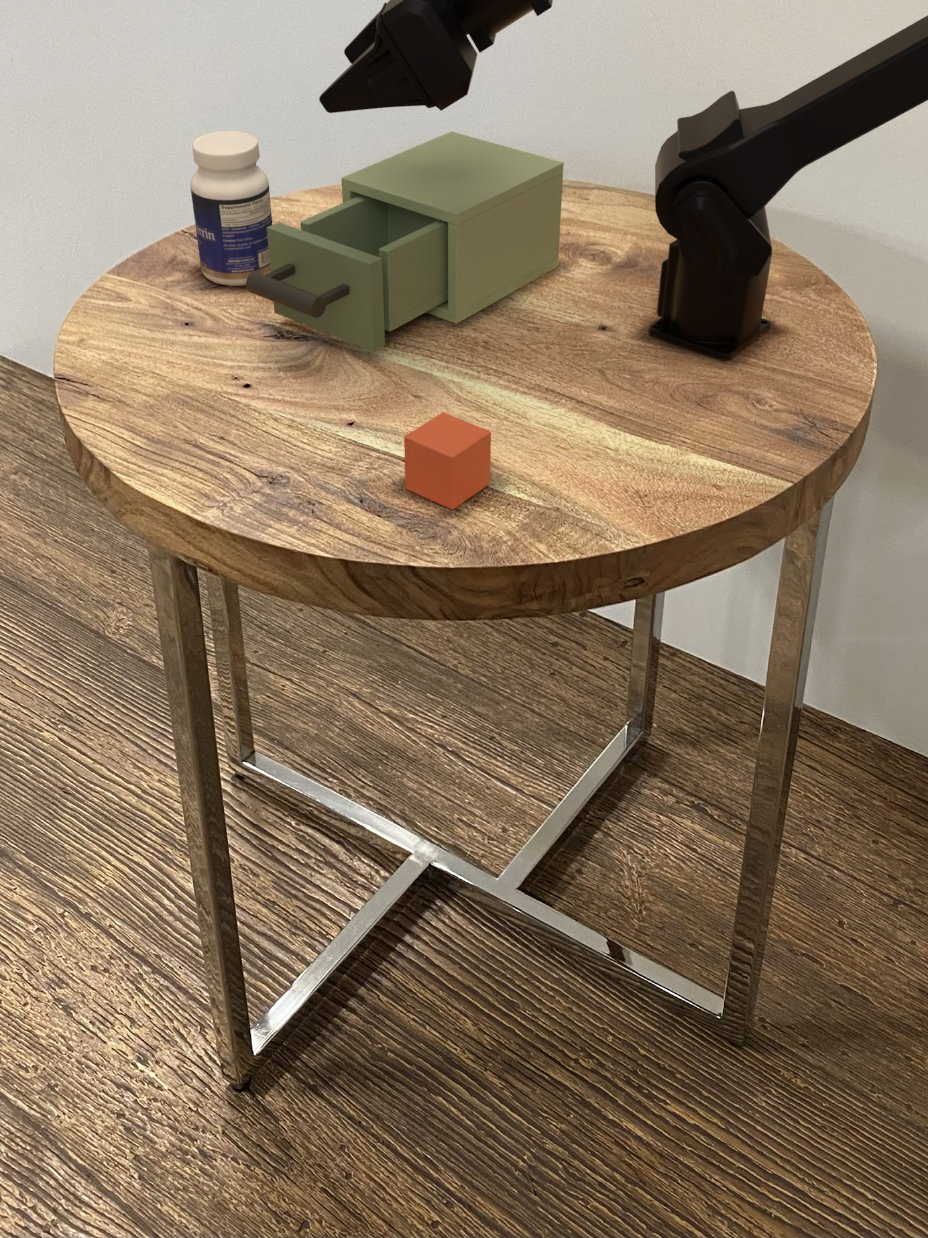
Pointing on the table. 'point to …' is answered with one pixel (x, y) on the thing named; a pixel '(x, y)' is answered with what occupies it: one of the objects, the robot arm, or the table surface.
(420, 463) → the block
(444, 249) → the drawer
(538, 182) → the cabinet
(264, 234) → the pill bottle
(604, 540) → the table surface
